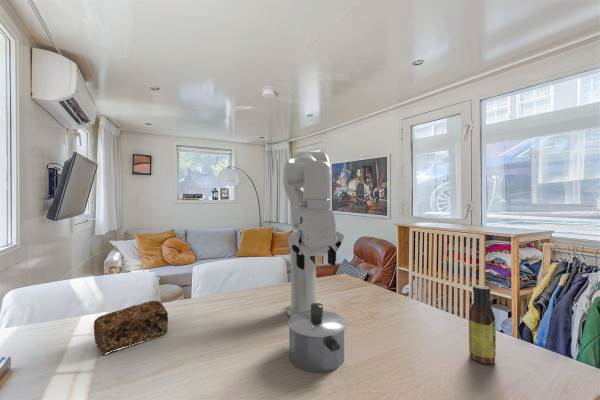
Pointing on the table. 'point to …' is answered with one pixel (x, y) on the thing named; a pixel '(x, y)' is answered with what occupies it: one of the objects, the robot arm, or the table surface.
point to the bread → (130, 326)
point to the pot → (316, 352)
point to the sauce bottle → (482, 327)
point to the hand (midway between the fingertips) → (316, 266)
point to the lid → (316, 323)
